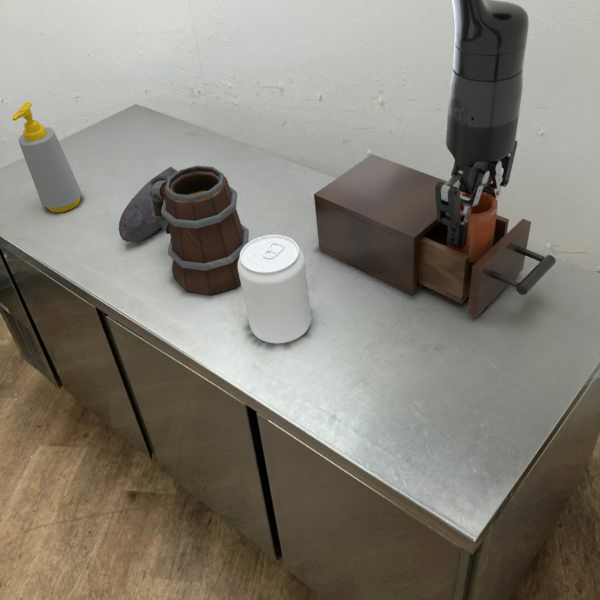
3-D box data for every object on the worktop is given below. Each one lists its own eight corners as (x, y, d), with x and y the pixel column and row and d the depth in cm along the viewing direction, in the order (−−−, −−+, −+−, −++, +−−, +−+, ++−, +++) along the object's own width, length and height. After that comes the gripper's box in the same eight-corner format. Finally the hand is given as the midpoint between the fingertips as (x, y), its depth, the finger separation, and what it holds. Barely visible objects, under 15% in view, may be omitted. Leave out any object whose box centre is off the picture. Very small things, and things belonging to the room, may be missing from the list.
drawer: (557, 284, 84) (568, 235, 79) (511, 335, 78) (519, 286, 73) (425, 228, 95) (427, 182, 90) (376, 269, 90) (375, 223, 84)
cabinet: (465, 248, 93) (471, 190, 86) (412, 296, 86) (414, 237, 80) (373, 208, 102) (371, 153, 95) (319, 249, 96) (313, 194, 89)
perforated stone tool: (137, 255, 99) (125, 218, 94) (113, 246, 101) (99, 209, 97) (199, 204, 108) (190, 167, 103) (175, 196, 110) (165, 161, 105)
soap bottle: (37, 215, 110) (-8, 118, 98) (54, 191, 115) (14, 96, 103) (74, 215, 109) (34, 117, 97) (90, 192, 114) (54, 95, 102)
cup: (500, 245, 83) (506, 199, 78) (476, 267, 80) (481, 221, 75) (462, 229, 86) (466, 185, 81) (438, 251, 83) (440, 206, 79)
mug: (270, 256, 95) (255, 168, 85) (218, 306, 89) (195, 216, 78) (192, 227, 103) (170, 143, 93) (138, 271, 96) (108, 185, 86)
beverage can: (238, 334, 84) (221, 263, 76) (272, 296, 89) (260, 225, 81) (290, 354, 81) (279, 282, 73) (323, 314, 85) (315, 242, 77)
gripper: (477, 145, 64) (465, 274, 76) (548, 90, 71) (527, 215, 83) (415, 126, 69) (412, 250, 80) (488, 75, 76) (475, 196, 87)
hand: (470, 232), depth 81 cm, fingers closed on cup, 5 cm apart
